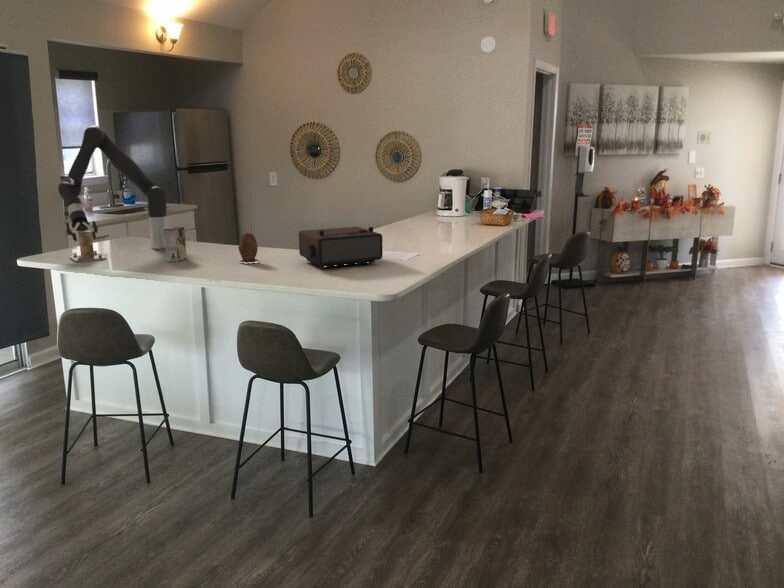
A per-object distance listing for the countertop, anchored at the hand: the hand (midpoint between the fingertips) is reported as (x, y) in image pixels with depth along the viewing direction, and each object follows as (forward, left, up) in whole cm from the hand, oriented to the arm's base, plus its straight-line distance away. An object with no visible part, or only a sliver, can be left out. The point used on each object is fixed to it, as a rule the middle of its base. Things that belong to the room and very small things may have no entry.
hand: (85, 239), depth 340 cm
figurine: (-61, +58, -10) cm, 85 cm away
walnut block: (0, +1, -9) cm, 9 cm away
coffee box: (-35, +30, -10) cm, 47 cm away
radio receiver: (-95, +86, -10) cm, 129 cm away
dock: (0, +1, -10) cm, 10 cm away
